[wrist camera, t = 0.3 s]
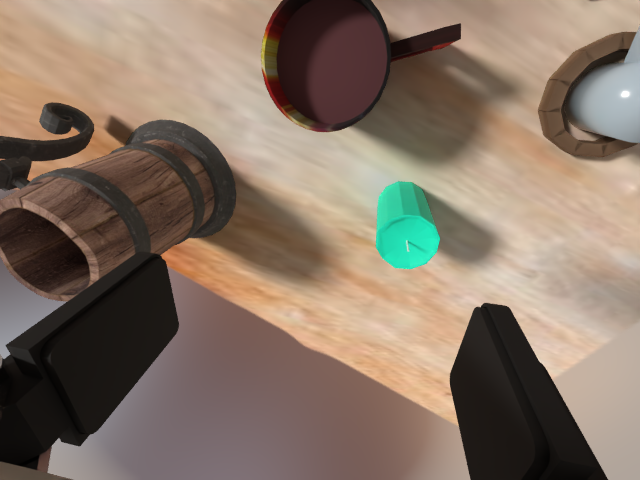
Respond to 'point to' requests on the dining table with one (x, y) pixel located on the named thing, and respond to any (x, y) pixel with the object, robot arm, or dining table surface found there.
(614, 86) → the jug
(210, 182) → the tankard
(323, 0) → the mug
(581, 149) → the stand
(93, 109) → the dining table surface
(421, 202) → the candle
